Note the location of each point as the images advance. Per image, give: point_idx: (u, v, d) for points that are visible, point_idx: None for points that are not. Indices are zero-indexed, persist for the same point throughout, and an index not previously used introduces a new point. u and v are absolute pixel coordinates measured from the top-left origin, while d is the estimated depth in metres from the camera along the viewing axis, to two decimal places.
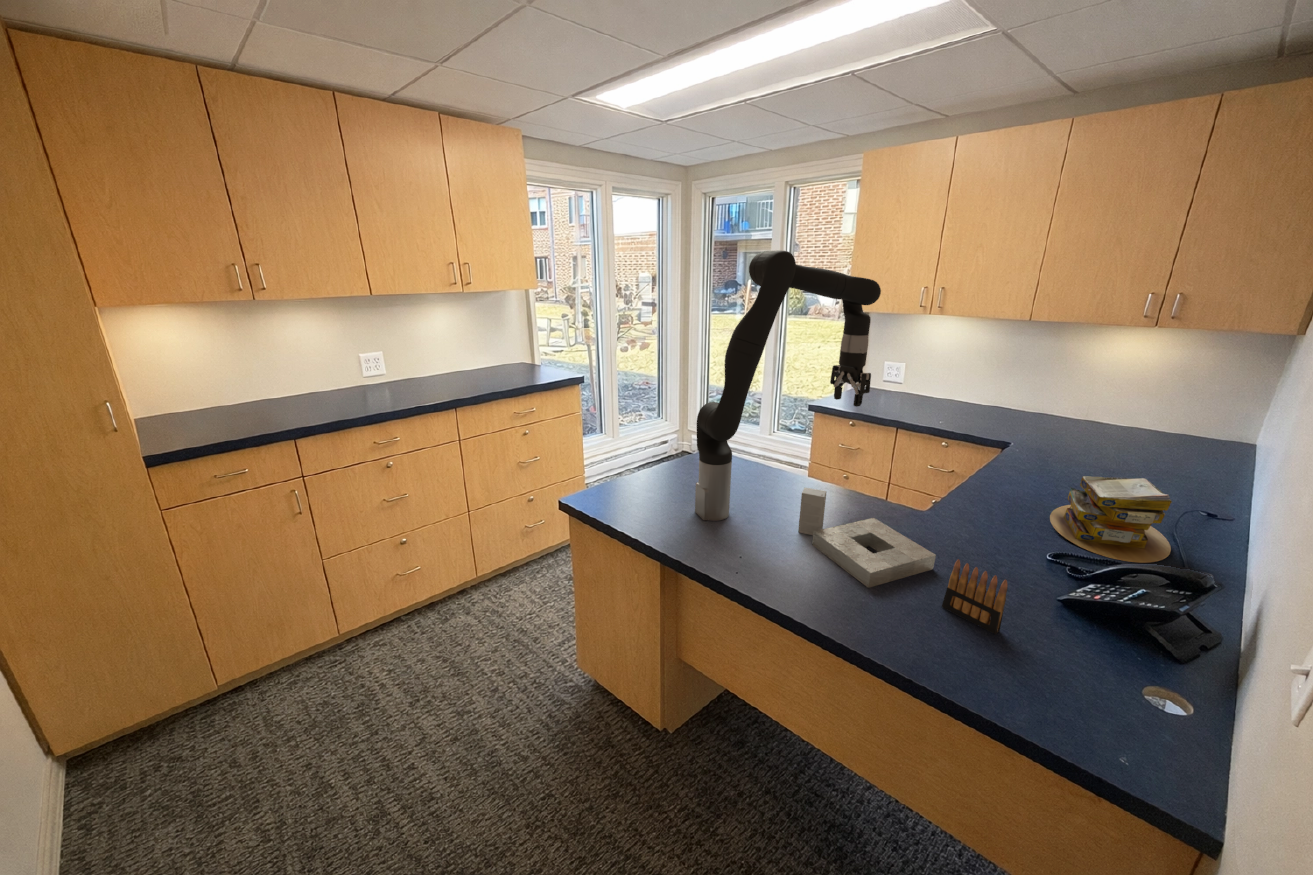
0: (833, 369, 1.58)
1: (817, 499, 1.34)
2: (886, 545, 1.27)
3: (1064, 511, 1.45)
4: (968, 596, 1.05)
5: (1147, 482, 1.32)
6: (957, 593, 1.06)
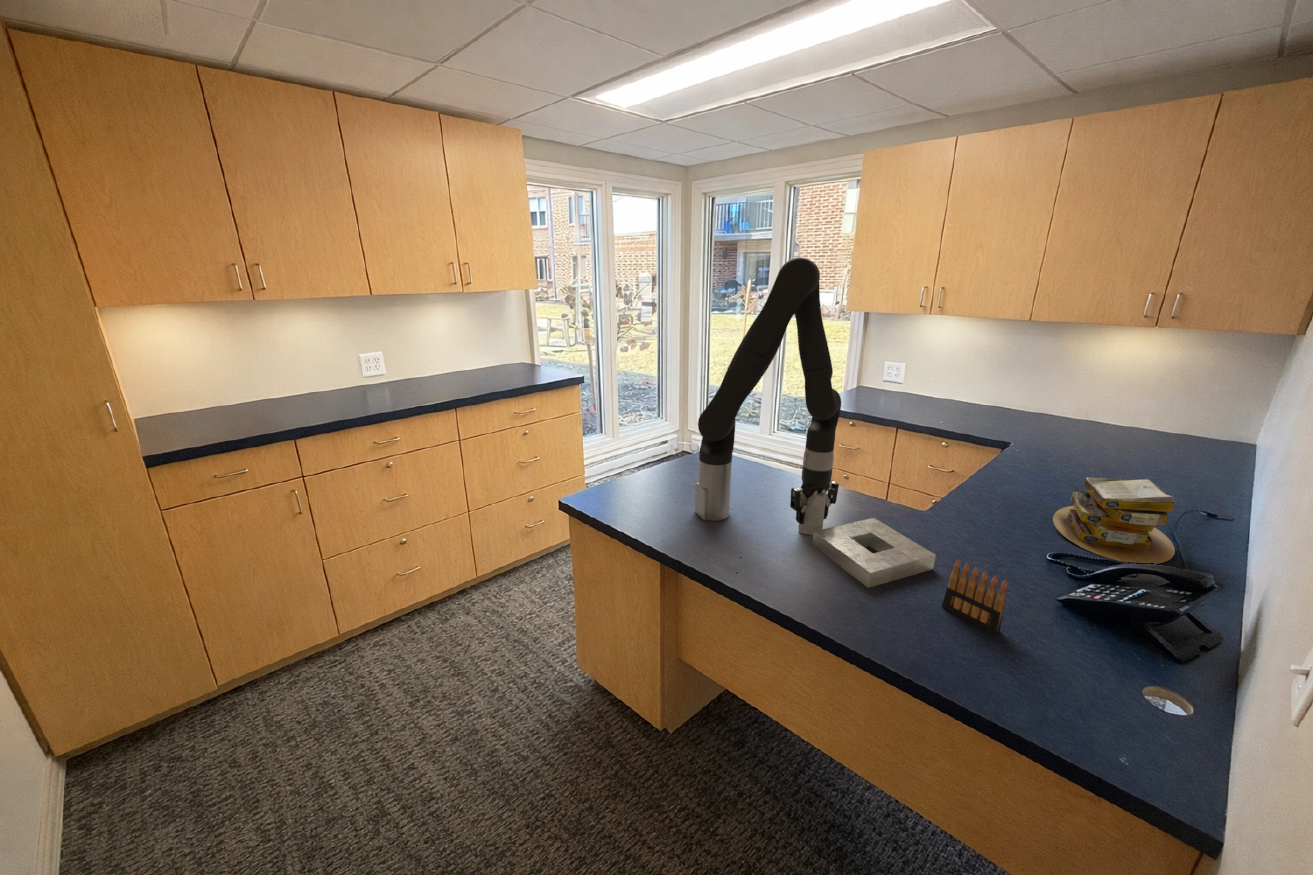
0: (798, 495, 1.33)
1: (817, 499, 1.34)
2: (886, 545, 1.27)
3: (1067, 512, 1.45)
4: (968, 596, 1.05)
5: (1151, 483, 1.31)
6: (957, 593, 1.06)
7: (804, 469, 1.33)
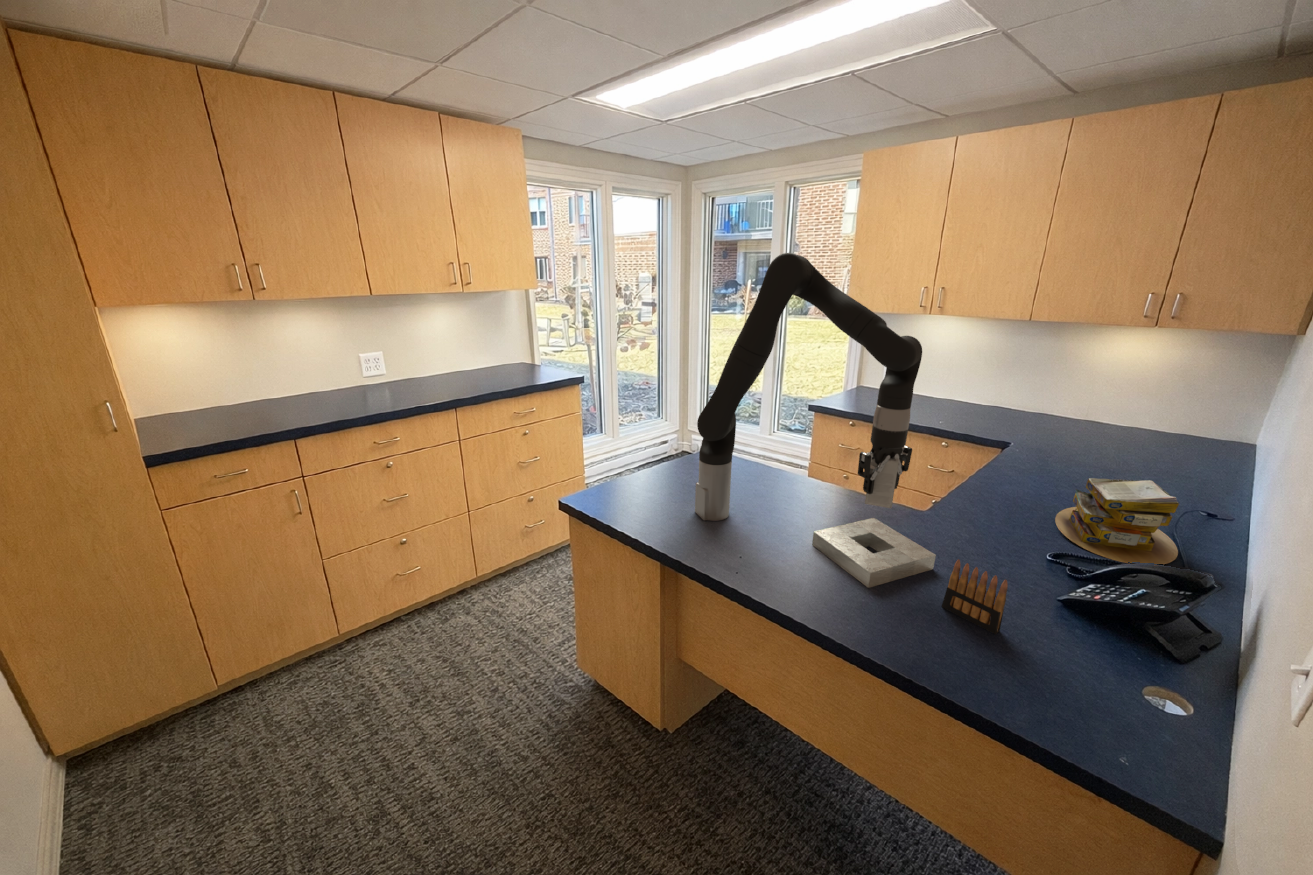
0: (868, 460, 1.16)
1: (890, 465, 1.18)
2: (886, 545, 1.27)
3: (1070, 513, 1.44)
4: (968, 596, 1.05)
5: (1154, 484, 1.30)
6: (957, 593, 1.06)
7: (875, 430, 1.16)
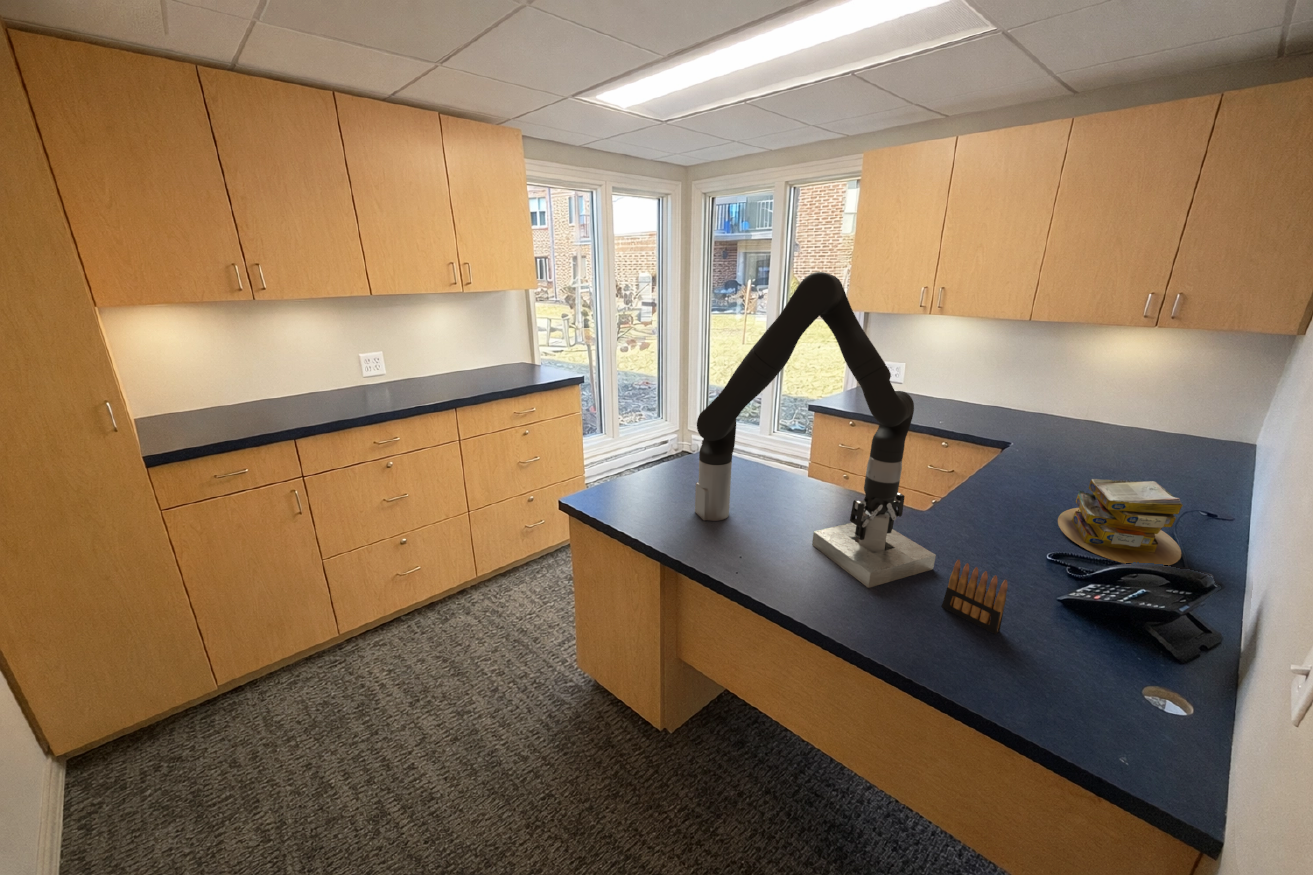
0: (861, 508, 1.20)
1: (880, 522, 1.23)
2: (886, 545, 1.27)
3: (1072, 514, 1.44)
4: (968, 596, 1.05)
5: (1157, 485, 1.30)
6: (957, 593, 1.06)
7: (868, 480, 1.20)
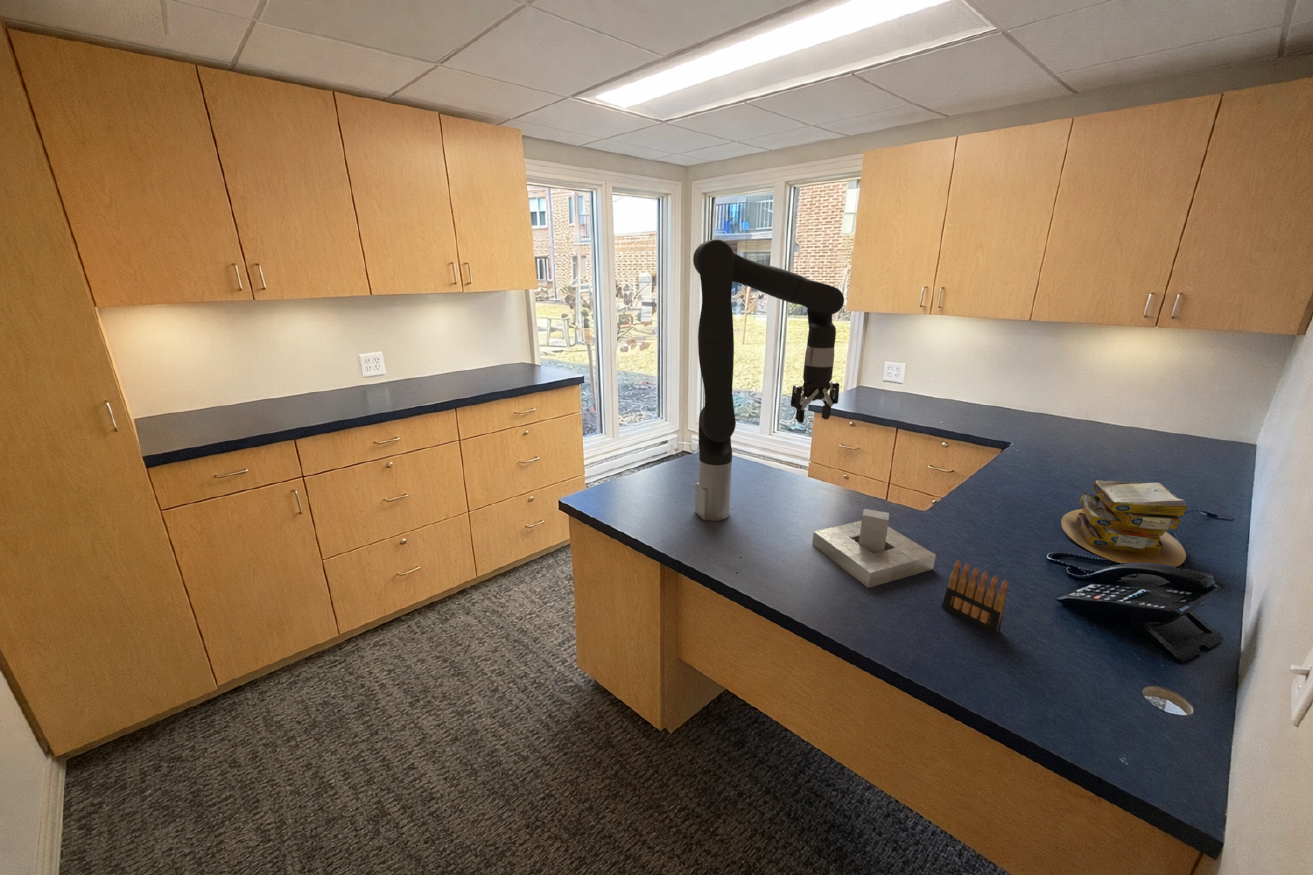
0: (799, 391, 1.36)
1: (880, 523, 1.23)
2: (886, 545, 1.27)
3: (1076, 515, 1.43)
4: (968, 596, 1.05)
5: (1161, 486, 1.29)
6: (957, 593, 1.06)
7: (805, 367, 1.37)
